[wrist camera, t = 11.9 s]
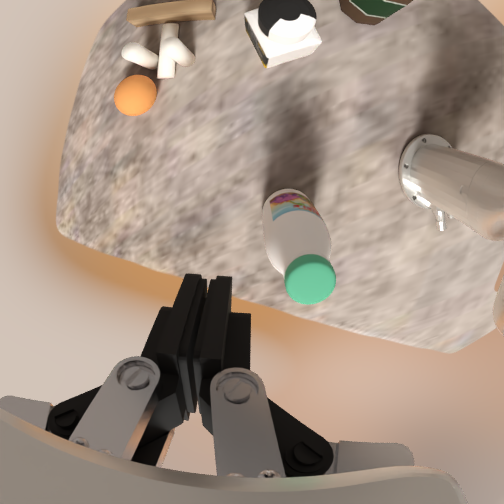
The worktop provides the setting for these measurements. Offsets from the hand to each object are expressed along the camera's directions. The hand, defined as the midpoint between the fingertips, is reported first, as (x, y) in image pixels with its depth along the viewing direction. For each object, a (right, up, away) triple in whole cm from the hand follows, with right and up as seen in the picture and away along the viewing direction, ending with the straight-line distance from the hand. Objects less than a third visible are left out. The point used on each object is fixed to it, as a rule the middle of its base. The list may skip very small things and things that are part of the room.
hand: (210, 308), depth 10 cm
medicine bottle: (+5, +31, +21) cm, 38 cm away
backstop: (-10, +36, +18) cm, 41 cm away
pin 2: (-8, +29, +22) cm, 37 cm away
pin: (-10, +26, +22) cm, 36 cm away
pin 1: (-13, +29, +21) cm, 39 cm away
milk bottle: (+7, +8, +32) cm, 34 cm away
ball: (-14, +23, +21) cm, 35 cm away
